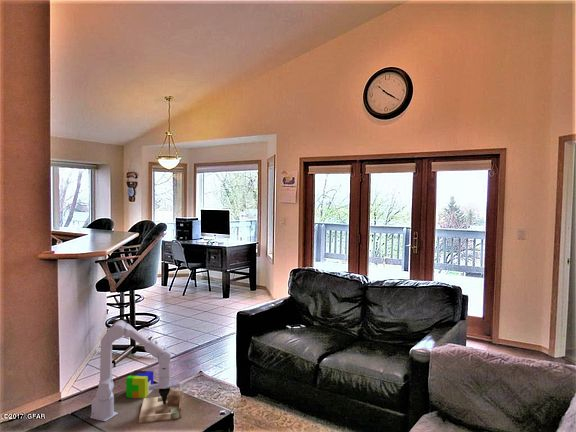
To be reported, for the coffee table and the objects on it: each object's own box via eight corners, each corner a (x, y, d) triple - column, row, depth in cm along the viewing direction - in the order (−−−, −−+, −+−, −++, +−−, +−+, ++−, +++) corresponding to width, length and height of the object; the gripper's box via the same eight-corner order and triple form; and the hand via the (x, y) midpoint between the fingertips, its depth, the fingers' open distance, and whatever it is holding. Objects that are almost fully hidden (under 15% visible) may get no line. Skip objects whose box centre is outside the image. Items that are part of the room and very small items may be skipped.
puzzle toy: (153, 389, 217) (153, 371, 217) (144, 398, 207) (144, 378, 207) (135, 388, 218) (135, 370, 218) (126, 397, 208) (126, 378, 208)
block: (167, 406, 192) (167, 396, 192) (168, 402, 197) (168, 391, 197) (178, 405, 194) (178, 395, 194) (179, 401, 198) (179, 390, 198)
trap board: (139, 422, 183) (139, 412, 183) (144, 403, 201) (144, 394, 201) (181, 417, 187) (181, 408, 187) (182, 399, 206) (182, 390, 206)
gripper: (180, 370, 200) (180, 398, 200) (149, 373, 197) (149, 401, 197) (179, 376, 193) (179, 404, 193) (148, 379, 190) (148, 407, 190)
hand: (164, 403), depth 194 cm, fingers closed
